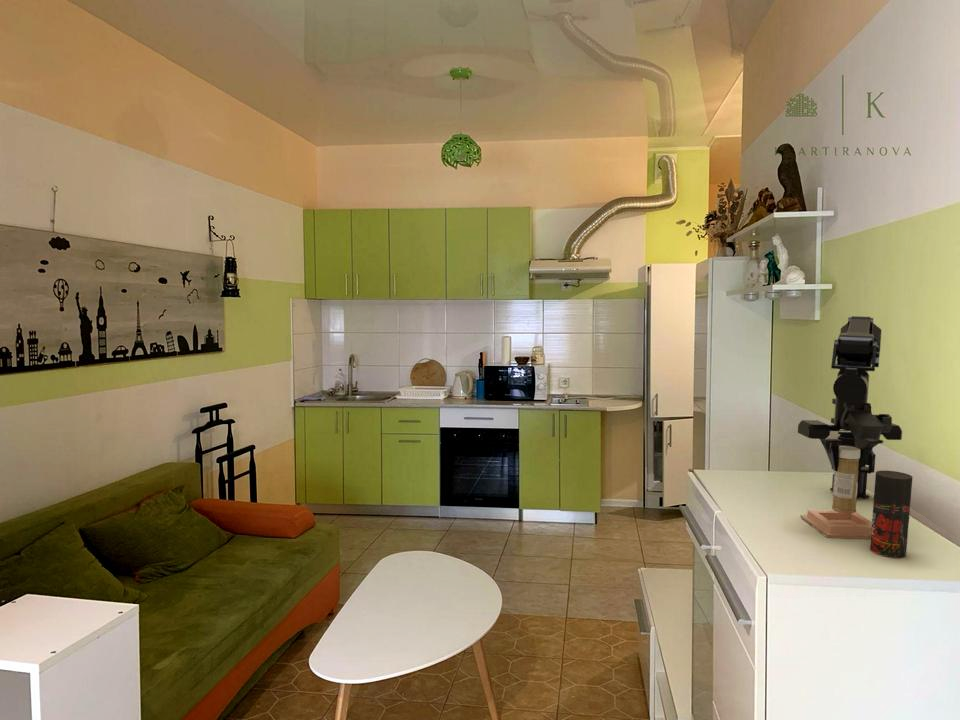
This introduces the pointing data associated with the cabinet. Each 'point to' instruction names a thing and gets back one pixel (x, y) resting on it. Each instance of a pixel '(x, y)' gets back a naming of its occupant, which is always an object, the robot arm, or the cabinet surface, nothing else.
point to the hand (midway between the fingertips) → (846, 470)
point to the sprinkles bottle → (846, 480)
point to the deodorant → (891, 514)
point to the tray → (839, 524)
